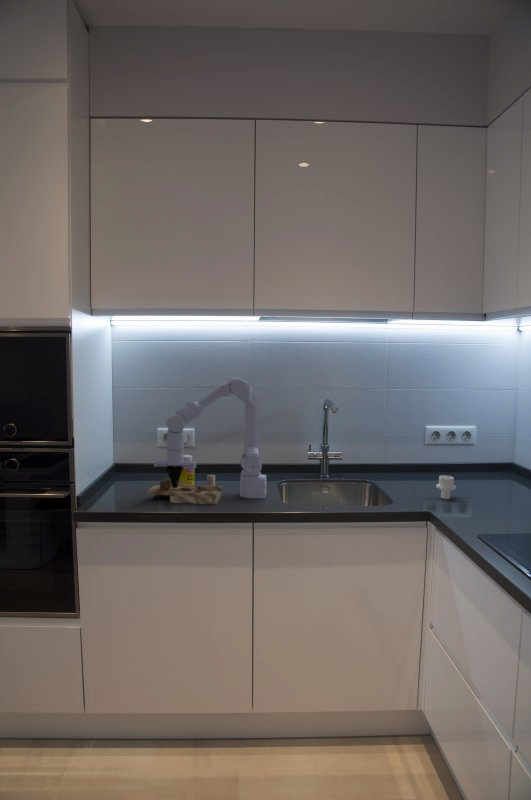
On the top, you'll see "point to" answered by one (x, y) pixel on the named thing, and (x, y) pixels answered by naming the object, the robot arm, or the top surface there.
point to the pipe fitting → (446, 486)
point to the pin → (210, 480)
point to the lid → (169, 488)
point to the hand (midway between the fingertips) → (175, 487)
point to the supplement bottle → (187, 473)
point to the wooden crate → (198, 495)
